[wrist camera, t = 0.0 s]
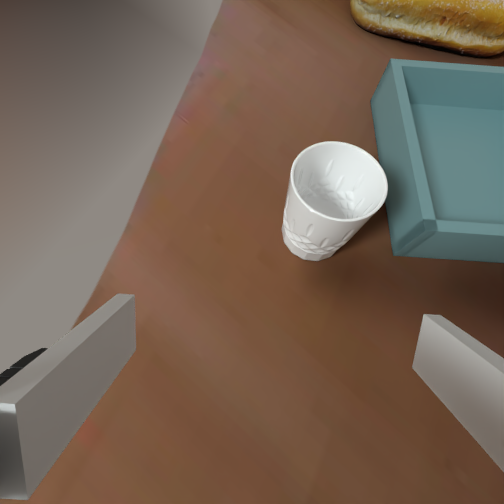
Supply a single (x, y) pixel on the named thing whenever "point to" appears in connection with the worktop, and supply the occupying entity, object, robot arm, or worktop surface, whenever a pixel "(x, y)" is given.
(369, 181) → the white cup
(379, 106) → the walled box
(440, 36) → the bread
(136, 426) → the worktop surface
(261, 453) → the worktop surface
